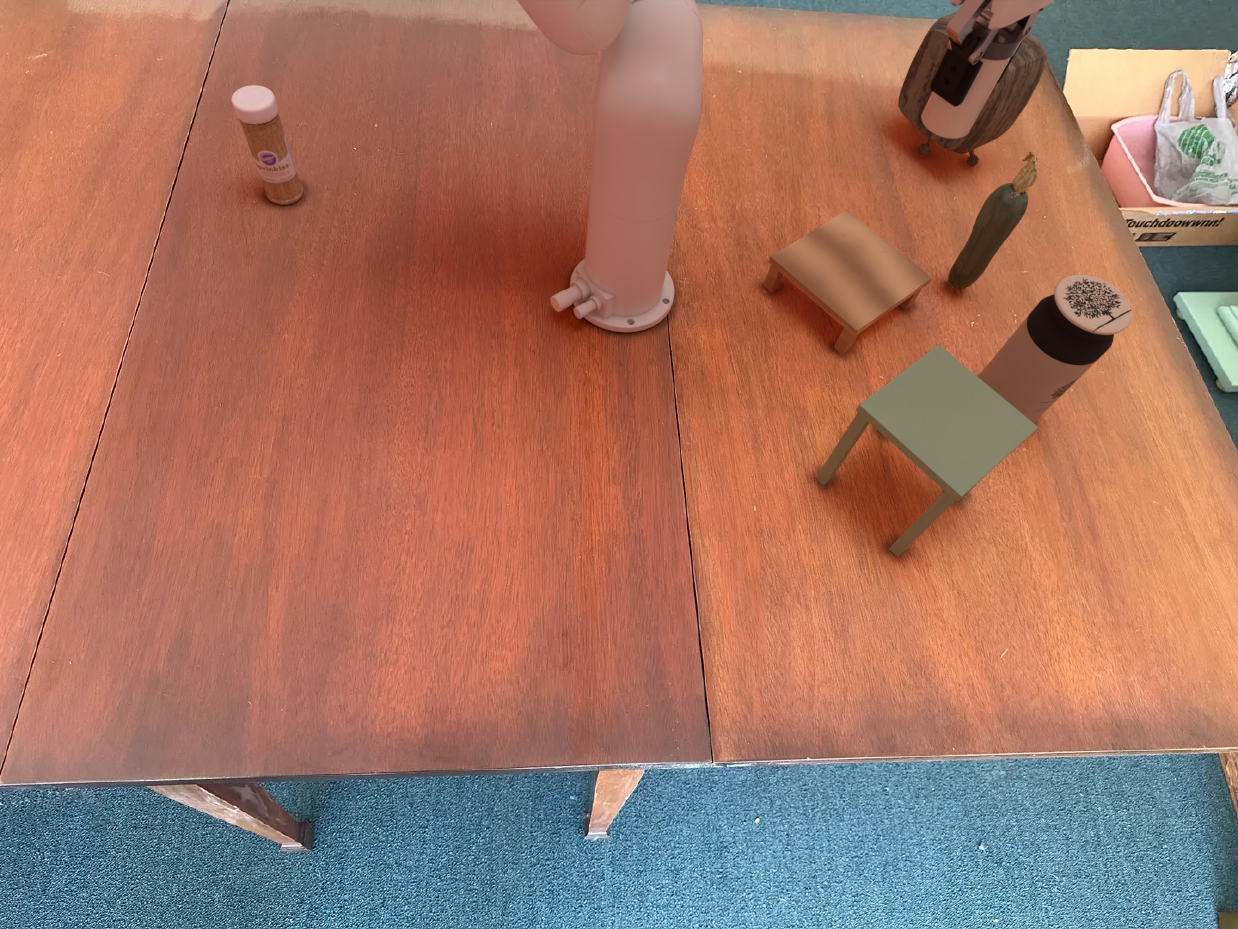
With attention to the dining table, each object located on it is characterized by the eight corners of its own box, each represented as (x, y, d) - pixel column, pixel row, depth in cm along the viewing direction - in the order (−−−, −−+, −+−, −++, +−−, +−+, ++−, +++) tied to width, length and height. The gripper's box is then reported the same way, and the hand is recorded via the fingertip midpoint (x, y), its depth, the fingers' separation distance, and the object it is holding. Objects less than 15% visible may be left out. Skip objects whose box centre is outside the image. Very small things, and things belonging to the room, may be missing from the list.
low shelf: (842, 358, 92) (857, 330, 88) (759, 285, 97) (770, 256, 93) (915, 305, 98) (932, 277, 93) (833, 239, 102) (846, 209, 98)
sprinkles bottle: (270, 209, 96) (233, 112, 84) (263, 184, 98) (226, 86, 86) (308, 201, 97) (277, 105, 85) (300, 177, 99) (269, 80, 87)
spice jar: (949, 146, 70) (1001, 51, 62) (909, 117, 72) (954, 20, 64) (981, 127, 72) (1035, 32, 64) (941, 99, 73) (989, 3, 66)
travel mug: (952, 389, 91) (1037, 282, 76) (1004, 371, 93) (1098, 263, 78) (992, 444, 88) (1090, 343, 72) (1046, 424, 90) (1152, 322, 75)
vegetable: (967, 306, 98) (1058, 177, 81) (933, 299, 98) (1017, 168, 81) (966, 281, 101) (1055, 150, 83) (933, 273, 101) (1015, 141, 83)
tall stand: (897, 560, 80) (961, 496, 67) (812, 478, 83) (859, 404, 71) (966, 497, 84) (1038, 427, 72) (883, 422, 88) (938, 344, 76)
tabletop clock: (987, 169, 112) (1094, -7, 91) (945, 190, 109) (1045, 12, 88) (917, 112, 118) (1002, -68, 96) (874, 130, 115) (953, -52, 93)
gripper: (1111, -205, 57) (986, 35, 73) (973, -157, 51) (869, 95, 67) (1200, -161, 55) (1051, 78, 71) (1068, -105, 48) (936, 145, 64)
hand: (964, 84), depth 68 cm, fingers closed on spice jar, 4 cm apart
